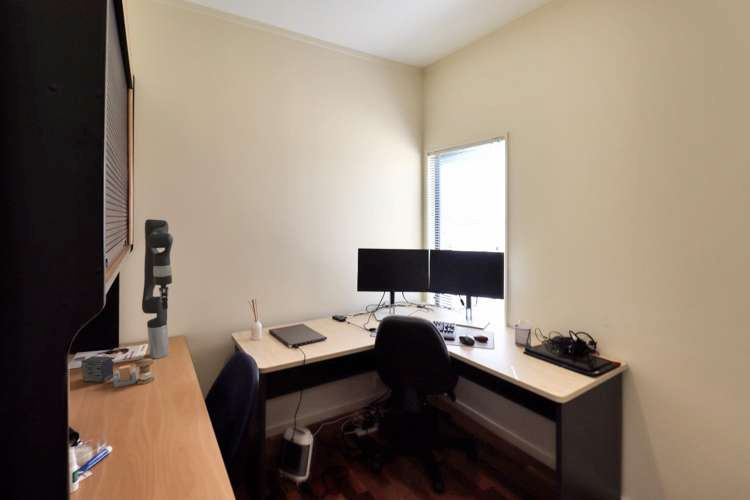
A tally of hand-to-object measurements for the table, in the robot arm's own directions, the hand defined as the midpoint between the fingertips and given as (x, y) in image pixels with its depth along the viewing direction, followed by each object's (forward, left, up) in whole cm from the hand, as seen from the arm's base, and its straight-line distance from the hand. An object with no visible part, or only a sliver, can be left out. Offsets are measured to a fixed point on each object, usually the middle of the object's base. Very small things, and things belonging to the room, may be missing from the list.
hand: (164, 306), depth 176 cm
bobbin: (+6, -10, -33) cm, 35 cm away
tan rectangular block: (+2, -18, -32) cm, 37 cm away
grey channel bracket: (+2, -18, -33) cm, 38 cm away
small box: (-7, -29, -33) cm, 45 cm away
